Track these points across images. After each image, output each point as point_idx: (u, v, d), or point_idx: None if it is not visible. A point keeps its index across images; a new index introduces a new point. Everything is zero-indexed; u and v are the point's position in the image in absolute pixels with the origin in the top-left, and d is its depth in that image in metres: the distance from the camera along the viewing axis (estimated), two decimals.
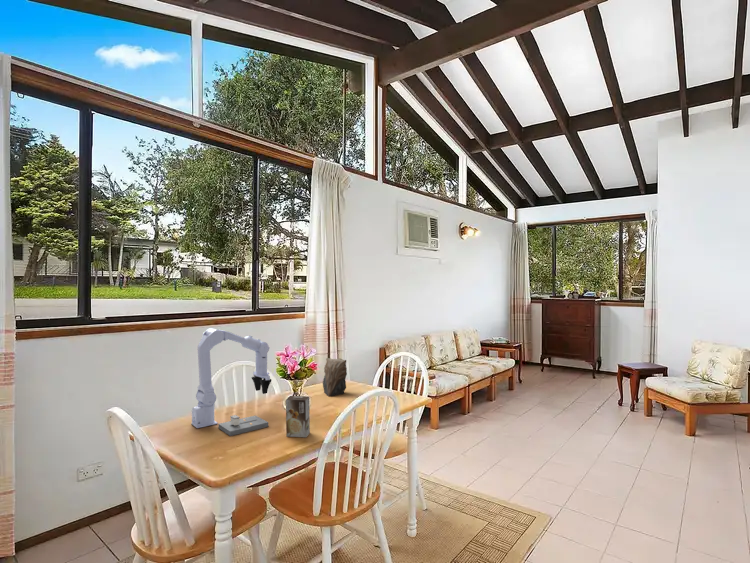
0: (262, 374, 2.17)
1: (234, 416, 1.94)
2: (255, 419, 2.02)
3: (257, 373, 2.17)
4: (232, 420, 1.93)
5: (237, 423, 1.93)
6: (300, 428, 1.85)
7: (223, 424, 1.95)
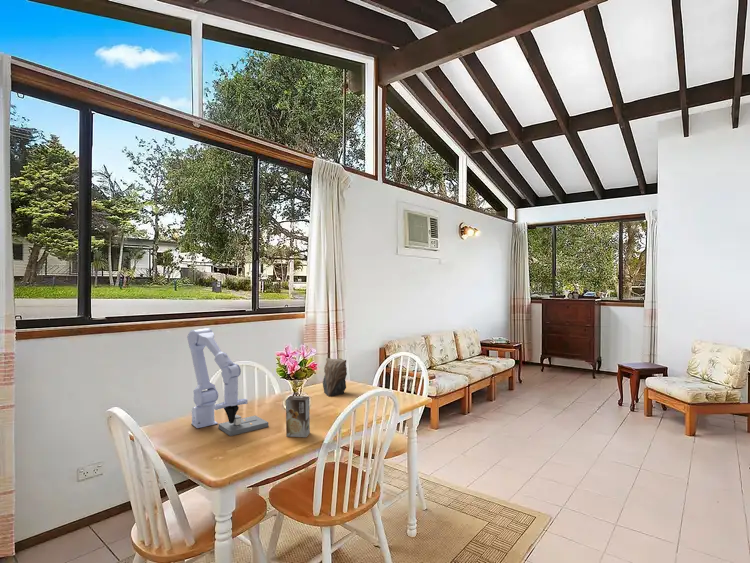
0: (224, 402, 1.92)
1: (236, 416, 1.95)
2: (255, 419, 2.02)
3: None
4: (234, 420, 1.94)
5: (239, 423, 1.93)
6: (300, 428, 1.85)
7: (223, 424, 1.95)
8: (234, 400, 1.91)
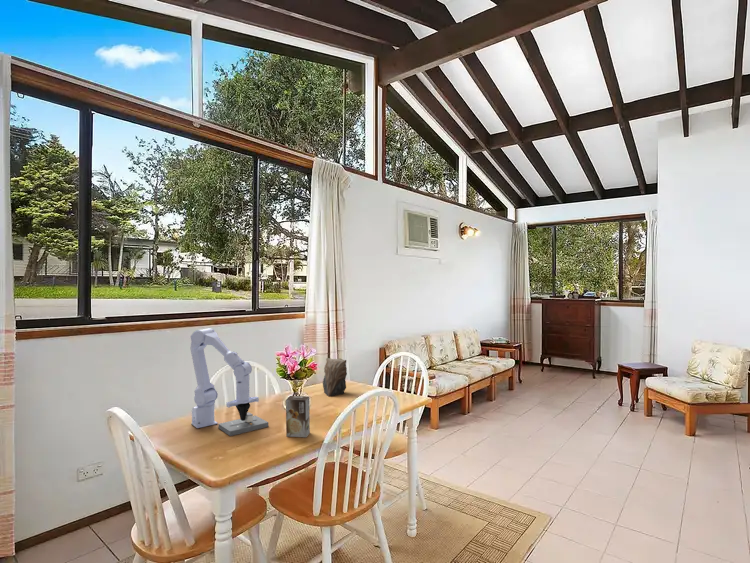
0: (236, 400, 1.95)
1: (247, 413, 1.99)
2: (255, 419, 2.02)
3: None
4: None
5: (250, 420, 1.97)
6: (300, 428, 1.85)
7: (223, 424, 1.95)
8: (246, 397, 1.95)
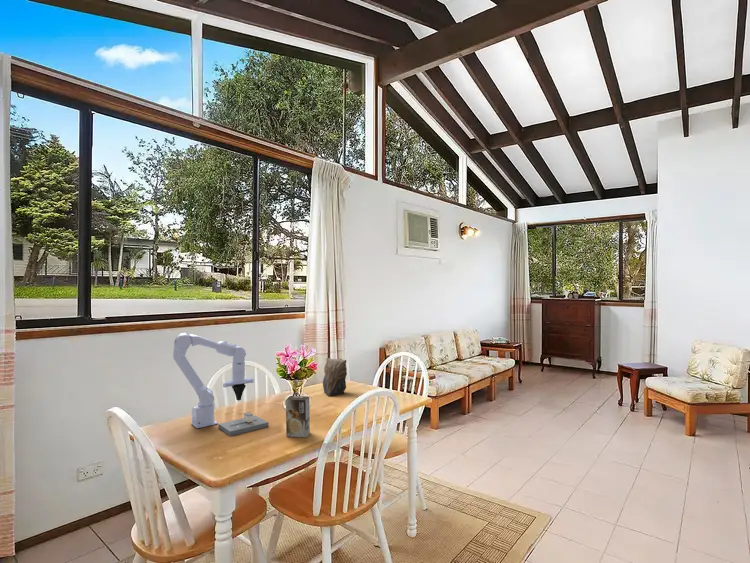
0: (232, 380, 2.06)
1: (247, 413, 1.99)
2: (255, 419, 2.02)
3: None
4: (245, 417, 1.98)
5: (250, 420, 1.97)
6: (300, 428, 1.85)
7: (223, 424, 1.95)
8: (241, 378, 2.06)
